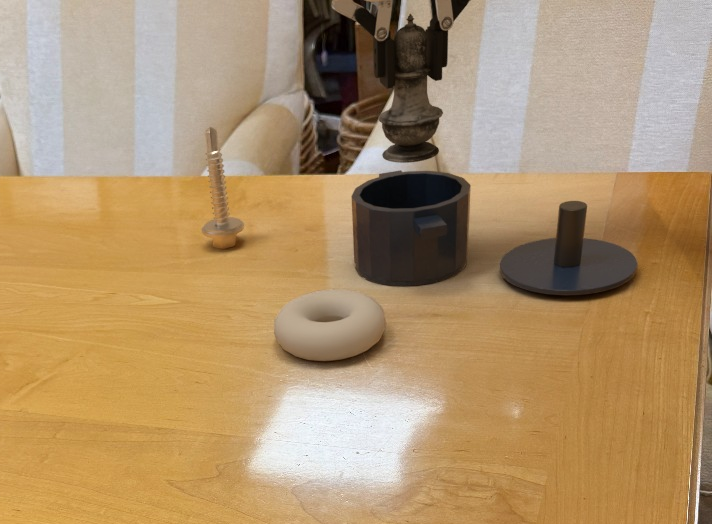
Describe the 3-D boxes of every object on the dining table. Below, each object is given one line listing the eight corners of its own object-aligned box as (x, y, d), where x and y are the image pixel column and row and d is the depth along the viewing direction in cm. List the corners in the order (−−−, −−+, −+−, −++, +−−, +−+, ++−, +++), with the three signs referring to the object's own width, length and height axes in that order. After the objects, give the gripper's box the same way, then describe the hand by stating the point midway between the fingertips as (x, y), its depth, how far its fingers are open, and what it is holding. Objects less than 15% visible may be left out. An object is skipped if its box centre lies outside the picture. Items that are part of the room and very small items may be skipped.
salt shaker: (408, 167, 84) (408, 23, 76) (366, 156, 88) (362, 18, 81) (455, 150, 86) (459, 8, 79) (411, 140, 90) (411, 4, 83)
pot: (441, 226, 100) (442, 156, 95) (491, 286, 87) (495, 209, 82) (340, 242, 100) (337, 173, 96) (374, 305, 87) (372, 228, 82)
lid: (601, 240, 92) (610, 174, 88) (660, 288, 82) (672, 217, 78) (481, 259, 92) (485, 194, 88) (525, 310, 82) (531, 239, 78)
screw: (201, 254, 103) (207, 237, 106) (243, 251, 102) (248, 235, 105) (183, 135, 95) (191, 122, 99) (229, 131, 94) (235, 118, 98)
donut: (252, 349, 83) (333, 379, 76) (248, 314, 81) (330, 342, 74) (327, 308, 88) (410, 333, 81) (325, 274, 86) (409, 297, 79)
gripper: (497, -183, 75) (486, 58, 86) (298, -150, 75) (313, 86, 86) (531, -184, 69) (514, 75, 80) (314, -148, 69) (328, 106, 80)
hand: (410, 79), depth 83 cm, fingers closed on salt shaker, 3 cm apart
